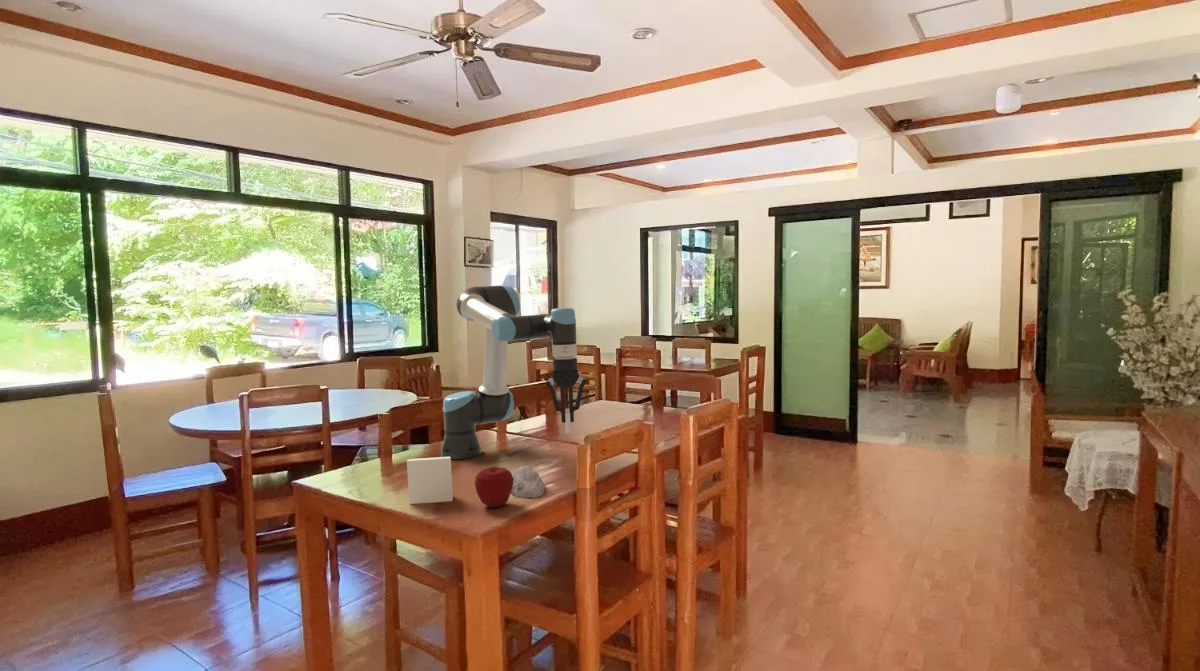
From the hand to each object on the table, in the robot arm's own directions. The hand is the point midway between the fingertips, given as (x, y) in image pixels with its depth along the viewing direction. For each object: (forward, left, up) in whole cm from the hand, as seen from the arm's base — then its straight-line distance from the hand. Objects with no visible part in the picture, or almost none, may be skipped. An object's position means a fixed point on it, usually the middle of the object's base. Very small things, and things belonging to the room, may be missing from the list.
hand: (568, 432), depth 198 cm
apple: (+15, -23, -17) cm, 32 cm away
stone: (+2, -14, -17) cm, 22 cm away
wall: (+7, -42, -17) cm, 46 cm away
